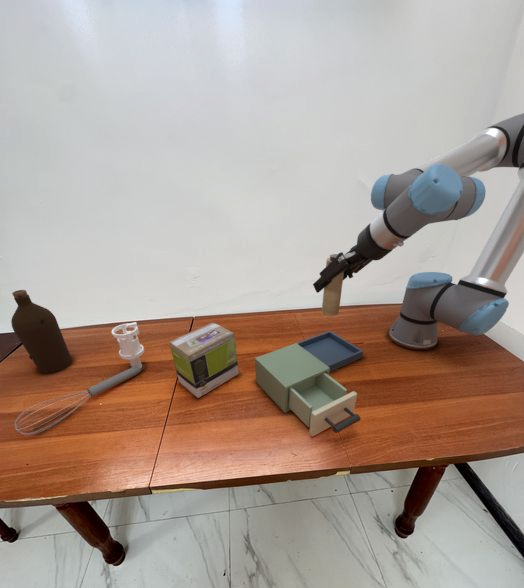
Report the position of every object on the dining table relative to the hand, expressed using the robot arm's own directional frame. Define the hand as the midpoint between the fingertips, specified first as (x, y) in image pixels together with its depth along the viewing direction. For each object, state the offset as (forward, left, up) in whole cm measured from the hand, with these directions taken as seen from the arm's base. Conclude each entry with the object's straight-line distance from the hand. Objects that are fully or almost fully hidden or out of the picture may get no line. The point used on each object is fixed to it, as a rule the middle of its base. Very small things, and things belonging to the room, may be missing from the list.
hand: (323, 286), depth 83 cm
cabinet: (+17, +8, -24) cm, 30 cm away
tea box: (+35, -8, -24) cm, 43 cm away
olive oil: (+74, -42, -24) cm, 88 cm away
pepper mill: (0, +4, -7) cm, 8 cm away
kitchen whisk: (+66, -17, -24) cm, 72 cm away
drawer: (+17, +21, -23) cm, 35 cm away
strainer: (+52, -26, -24) cm, 62 cm away
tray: (-2, +1, -24) cm, 24 cm away
